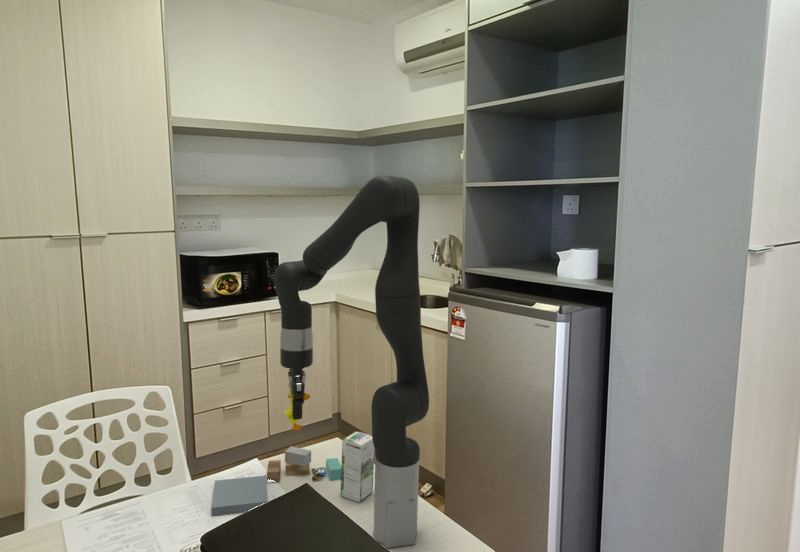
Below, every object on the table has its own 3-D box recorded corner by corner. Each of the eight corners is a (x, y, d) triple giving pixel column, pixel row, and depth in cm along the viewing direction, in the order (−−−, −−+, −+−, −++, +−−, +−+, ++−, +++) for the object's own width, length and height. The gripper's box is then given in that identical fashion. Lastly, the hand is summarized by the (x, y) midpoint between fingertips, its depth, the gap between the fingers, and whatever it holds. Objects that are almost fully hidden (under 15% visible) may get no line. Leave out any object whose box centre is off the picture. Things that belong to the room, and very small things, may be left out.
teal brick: (341, 479, 136) (342, 468, 136) (330, 481, 136) (330, 470, 135) (337, 468, 142) (337, 457, 142) (326, 469, 141) (326, 459, 141)
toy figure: (313, 426, 130) (312, 379, 128) (308, 432, 127) (307, 384, 125) (286, 424, 131) (285, 377, 129) (280, 430, 128) (279, 382, 126)
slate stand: (267, 509, 122) (267, 501, 122) (211, 516, 119) (211, 507, 118) (266, 482, 133) (266, 475, 133) (215, 488, 130) (214, 480, 130)
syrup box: (353, 485, 133) (354, 430, 131) (373, 492, 130) (375, 436, 128) (339, 496, 128) (340, 438, 126) (360, 503, 125) (361, 444, 124)
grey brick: (311, 461, 139) (311, 450, 139) (305, 466, 137) (305, 455, 136) (291, 457, 141) (291, 446, 141) (284, 462, 139) (284, 451, 138)
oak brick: (308, 469, 141) (308, 458, 141) (309, 474, 139) (309, 463, 138) (285, 470, 140) (285, 459, 140) (285, 476, 137) (285, 465, 137)
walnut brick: (279, 482, 134) (279, 471, 134) (266, 483, 134) (266, 472, 133) (280, 470, 140) (280, 460, 140) (268, 471, 139) (268, 460, 139)
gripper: (316, 352, 121) (315, 425, 123) (309, 337, 134) (309, 403, 137) (282, 354, 119) (282, 428, 121) (278, 338, 132) (279, 405, 135)
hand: (296, 414), depth 129 cm, fingers closed on toy figure, 3 cm apart
